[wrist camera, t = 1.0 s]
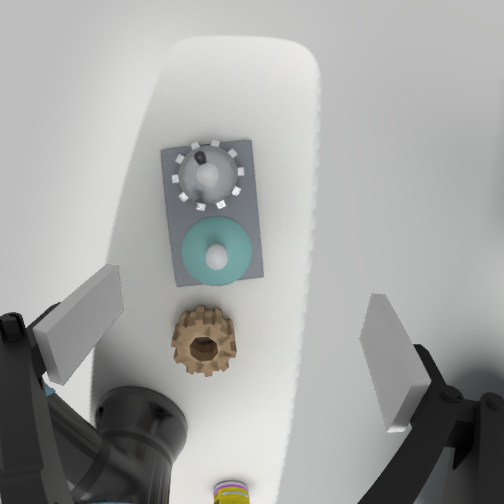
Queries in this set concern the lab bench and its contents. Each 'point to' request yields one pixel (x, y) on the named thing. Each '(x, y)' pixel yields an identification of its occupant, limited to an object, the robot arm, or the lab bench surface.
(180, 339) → the oak gear
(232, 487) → the supplement bottle
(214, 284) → the gear board
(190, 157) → the gear
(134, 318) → the lab bench surface
